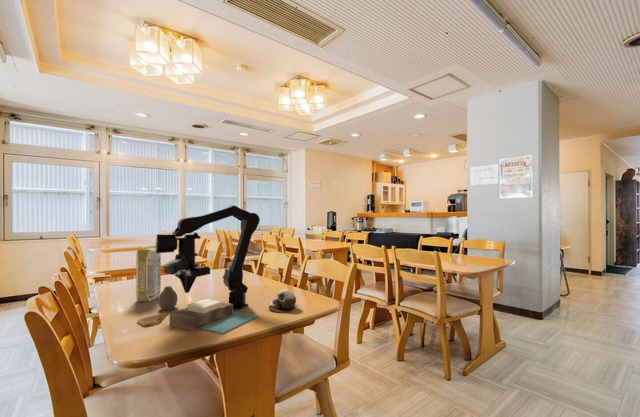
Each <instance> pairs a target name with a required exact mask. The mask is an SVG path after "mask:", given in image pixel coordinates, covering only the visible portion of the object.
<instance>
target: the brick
mask: <svg viewBox="0 0 640 417" xmlns="http://www.w3.org/2000/svg"><path fill="white" fill-rule="evenodd" d="M231 314H234V309H233V304H232V303H229V302H226V301H221V307H220V308H217V309H215V310H212V311H210V312H207V313H199V312H194V311H189V310H188V306H187V307H184V308H182V309H179V310H175V311H172V312H169V326H173V327H177V328H181V329H184V330H189V331H192V332H195V331H198V330H201V329H200V328H201V327H203V326H206V325H208V324H210V323H213V322H215V321H217V320H220V319H222V318H224V317H227V316H229V315H231Z"/></svg>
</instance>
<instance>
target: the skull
mask: <svg viewBox="0 0 640 417" xmlns="http://www.w3.org/2000/svg"><path fill="white" fill-rule="evenodd" d="M296 302H297V299H296V295H295V293H293V291H291V290H290V289H287V288H285V289H281V290H279V292H278V293H277V294H276V295H275V296H274V298H272V302H271V303H270V305H269V306H268V309H269V310H270V311H272V312H274V313H275V312H276V313H281V314H283V313H284V314H285V313H286V314H287V313H291V312H292V310H294V309H296V308H298V307H299V305H297V303H296Z"/></svg>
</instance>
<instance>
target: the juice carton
mask: <svg viewBox="0 0 640 417" xmlns="http://www.w3.org/2000/svg"><path fill="white" fill-rule="evenodd" d="M141 248H142V249H136V257H135V258H136V260H135V261H136V262H135V264H136V265H135V267H136V269H135V273H136V274H135V293H136V294H135V298H136V302H151V301H154V300H156V299H159V296H160V294H161V292H162V291H161V289H162V286H161V284H162V283H161V282H162V281H161V280H162V279H161V278H162V276H161V273H162V272H161V270H162V269H161V267H162V265H161V264H162V261H161V258H162V255H161V254H162V253H156V247H149V245H144V246H142V247H141Z"/></svg>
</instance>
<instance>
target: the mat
mask: <svg viewBox="0 0 640 417" xmlns="http://www.w3.org/2000/svg"><path fill="white" fill-rule="evenodd" d="M257 318H259V315H256V314H252V313H247V312H240V311H236V312H233V314H231V315H229V316H227V317H224V318H222V319H220V320H217V321H215V322H213V323H210V324H208V325H206V326H203V327H201V328H200V329H199V330H203V331H207V332H211V333H216V334H219V335H224V334H226V333H229V332H230V331H232V330H235V329H236V328H238V327H240V326H243V325H245V324H246V323H248V322H251V321H252V320H255V319H257Z"/></svg>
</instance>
